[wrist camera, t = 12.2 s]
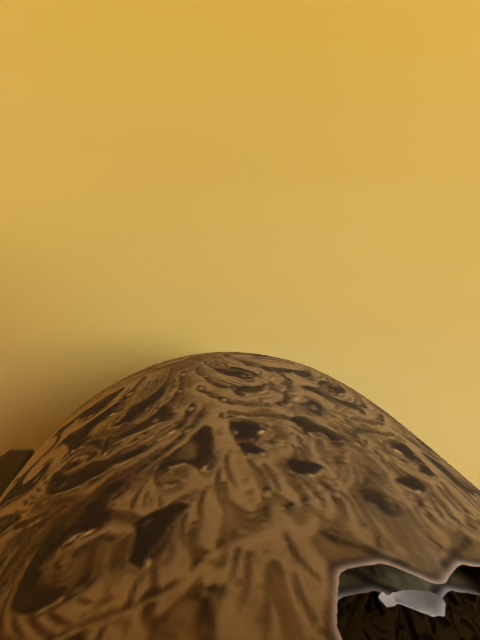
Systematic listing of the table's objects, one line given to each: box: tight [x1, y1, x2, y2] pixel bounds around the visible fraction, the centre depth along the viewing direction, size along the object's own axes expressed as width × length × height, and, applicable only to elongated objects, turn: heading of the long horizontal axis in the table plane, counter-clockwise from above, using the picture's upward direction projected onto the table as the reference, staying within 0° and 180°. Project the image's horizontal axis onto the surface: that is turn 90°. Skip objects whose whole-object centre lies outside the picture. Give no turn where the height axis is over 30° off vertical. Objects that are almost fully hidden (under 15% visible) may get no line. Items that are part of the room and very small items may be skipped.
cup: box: [0, 352, 480, 640], centre depth 7 cm, size 8×7×8 cm
